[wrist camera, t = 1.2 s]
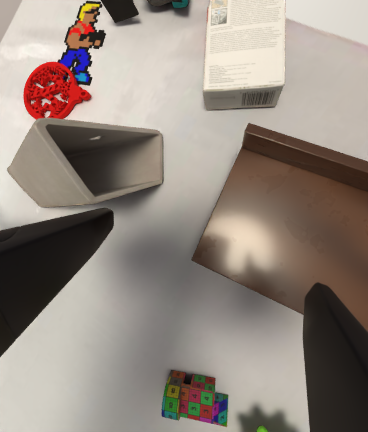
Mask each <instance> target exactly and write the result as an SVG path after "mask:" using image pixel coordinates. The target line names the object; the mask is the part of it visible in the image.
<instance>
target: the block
mask: <svg viewBox="0 0 368 432" xmlns="http://www.w3.org/2000/svg"><path fill="white" fill-rule="evenodd" d="M185 375H186V373H184V372H179V371H173V370H171V373H170V376H169V378H168V381H167V383H166V386H165V391H164V396H163V402H162V417H165V418H170V419H174V420H178V421H179V419H180V417H185V418H189V419H194V420H198V421H203V422H207V423H211V424H216V425H221V426H225V427H227V412H228V395H224V394H219V393H215V378H211V377H206V376H200V375H195V374H193V376H192V380H191V385H189V384H184V383H183V382H184V379H185Z"/></svg>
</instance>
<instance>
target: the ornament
mask: <svg viewBox="0 0 368 432" xmlns="http://www.w3.org/2000/svg"><path fill="white" fill-rule="evenodd" d="M53 72H55V73H56V74H58V75H53ZM65 73H68V74H69V76H70V80H68V81H69V82H67V81H66V82H65V80H64V79H63V78H64V75H65V76H66V77H68V76H67V75H66V74H65ZM50 80H51V81H53V82H54V83H55V84H53V85H51V86H48V87H47V86H46V85H47V83H48V82H49V81H50ZM34 82H36V83H38V82H41V83H40V85H41V86H43V87H44V88H40V87H38V86H36V85H35V84H34ZM59 92H61V93H62V95H60V96H61V98H62V99H63V100H64V102H62V101H61V100H60V101H59V100H58V99H57V98H55V97H54V96H53V95H54V94H57V93H59ZM67 97H68V103H66V102H65V100H67ZM90 97H91V95H90V94H89V93H88V92H87V91H86V90H83V89H82V88H81V87H79V86H78V84H77V80H76V78H75V76H74V74H73V73H72V72H71V71H70V70H69V69H68V68H67V67H66V66H65V65H63V64H61V63H58V62H47V63H44V64H42V65H40V66H39V67H37V68H36V69H35V70H34V71H33V72H32V73H31V75H30V76H29V78H28V80H27V82H26V84H25V88H24V104H25V107H26V109H27V111H28V113H29V114H30V115H31V116H32V117H34V118H35V119H38V118H44V117H45V116H44V115H45V114H44V112H46V111H51V113H50V116H49V117H48V118H56V119H63V118H65V117H66V116H67V115H68V114H69V113H70V112H71V110H72V109H73V107H74V105H75V104H76V103H80V102H82V99H83V100H89V99H90ZM42 98H46V99H48V100H49V101H51V104H50V105H49V104H48V103H45V104H44V106H43V107H42V105H41V102H42V101H41V100H40V99H42ZM30 99H31V100H32V101H33V99H34V100H35V101H36V102H34V104H33V103H32V105H31V102H30Z"/></svg>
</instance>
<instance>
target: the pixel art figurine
mask: <svg viewBox="0 0 368 432" xmlns="http://www.w3.org/2000/svg"><path fill="white" fill-rule="evenodd" d="M99 8H102V4H101V2H95V1H86V3H83V6H80V9H79V12H78V15H77V18H78V20H76V21H75V24H74V25H72V26H71V27H69V28H68V32H67V35H66V38H65V41H64V43H66V45H68V46H67V49H66V52H63V54H62V58H61V60H58V63H61V64H63V65H65V66H66V67H67V68H68V69H69V70H70V68H71V67H73V66H74V63H75V62H77V63H76V66H75V67H73V68H72V71H71V72H73V74H74V76H75V78H76V80H77V84H82V85H89V86H90V83H91V80H92V77H90V74H89V71H87V69H88V66H89V67H91V64H92V61H90V59H91V55H89V54H90V53H88V50H89V48H92V46H94V49H99V46H100V47H102V45H103V42H104V38H105V35H106V33H104V30H99V32H97V30H95V27H93V26H94V23H97V21H98V20H97V19H96V17H97V15H100V12H98V10H99ZM65 74H66V75H67V76H68V75H69V74H68V73H65ZM54 75H58V74H56V73H55V72H54ZM67 78H68V77H66V76H65V75H64V78H63V79H64V80H65V82H66V81H67Z"/></svg>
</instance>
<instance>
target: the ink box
mask: <svg viewBox="0 0 368 432" xmlns="http://www.w3.org/2000/svg"><path fill="white" fill-rule="evenodd" d="M285 1H286V0H210V5H209V7H208V10H207V29H206V46H205V65H204V80H203V96H204V103H205V108H206V110H215V109H230V108H246V107H271V106H276V104H277V101H278V98H279V96H280V94H281V91H282V88H283V86H284V85H285Z"/></svg>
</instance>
